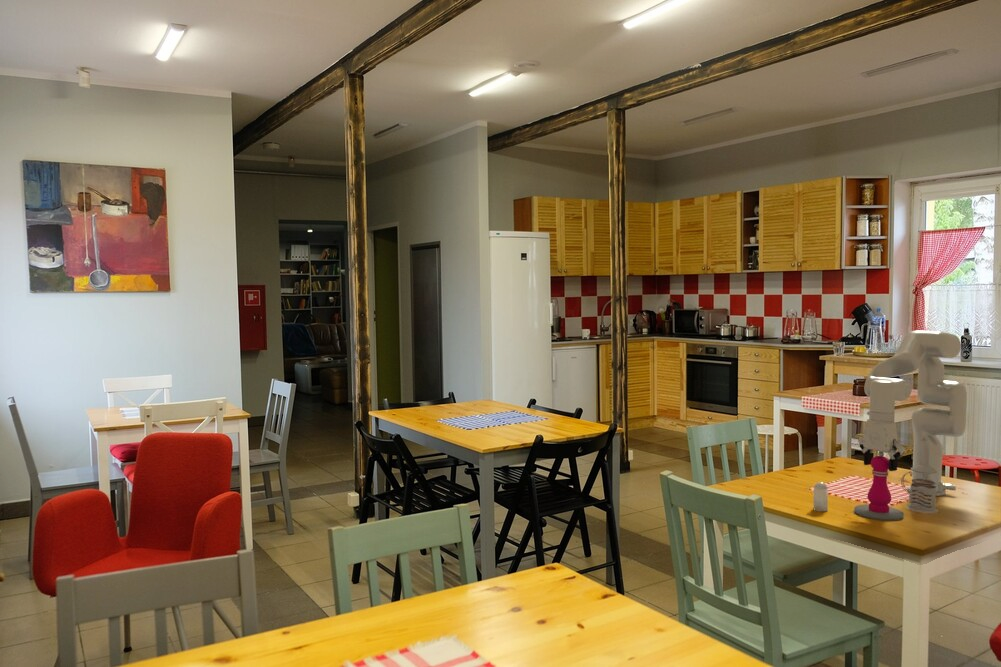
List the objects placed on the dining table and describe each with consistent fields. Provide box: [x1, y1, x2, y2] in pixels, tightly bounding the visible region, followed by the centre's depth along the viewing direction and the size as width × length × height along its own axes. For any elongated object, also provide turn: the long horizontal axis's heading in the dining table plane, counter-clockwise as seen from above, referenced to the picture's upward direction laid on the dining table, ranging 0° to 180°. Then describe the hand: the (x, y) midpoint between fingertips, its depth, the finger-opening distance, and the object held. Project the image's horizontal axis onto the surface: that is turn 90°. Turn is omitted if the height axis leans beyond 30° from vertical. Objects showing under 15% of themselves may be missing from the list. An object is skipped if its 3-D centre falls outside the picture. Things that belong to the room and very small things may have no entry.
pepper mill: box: [866, 451, 892, 513], centre depth 258 cm, size 7×7×20 cm
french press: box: [901, 437, 939, 514], centre depth 265 cm, size 10×12×25 cm
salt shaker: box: [813, 481, 829, 512], centre depth 263 cm, size 4×4×10 cm
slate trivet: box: [853, 504, 905, 522], centre depth 258 cm, size 15×15×1 cm
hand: (880, 467), depth 257 cm, fingers open, 9 cm apart
